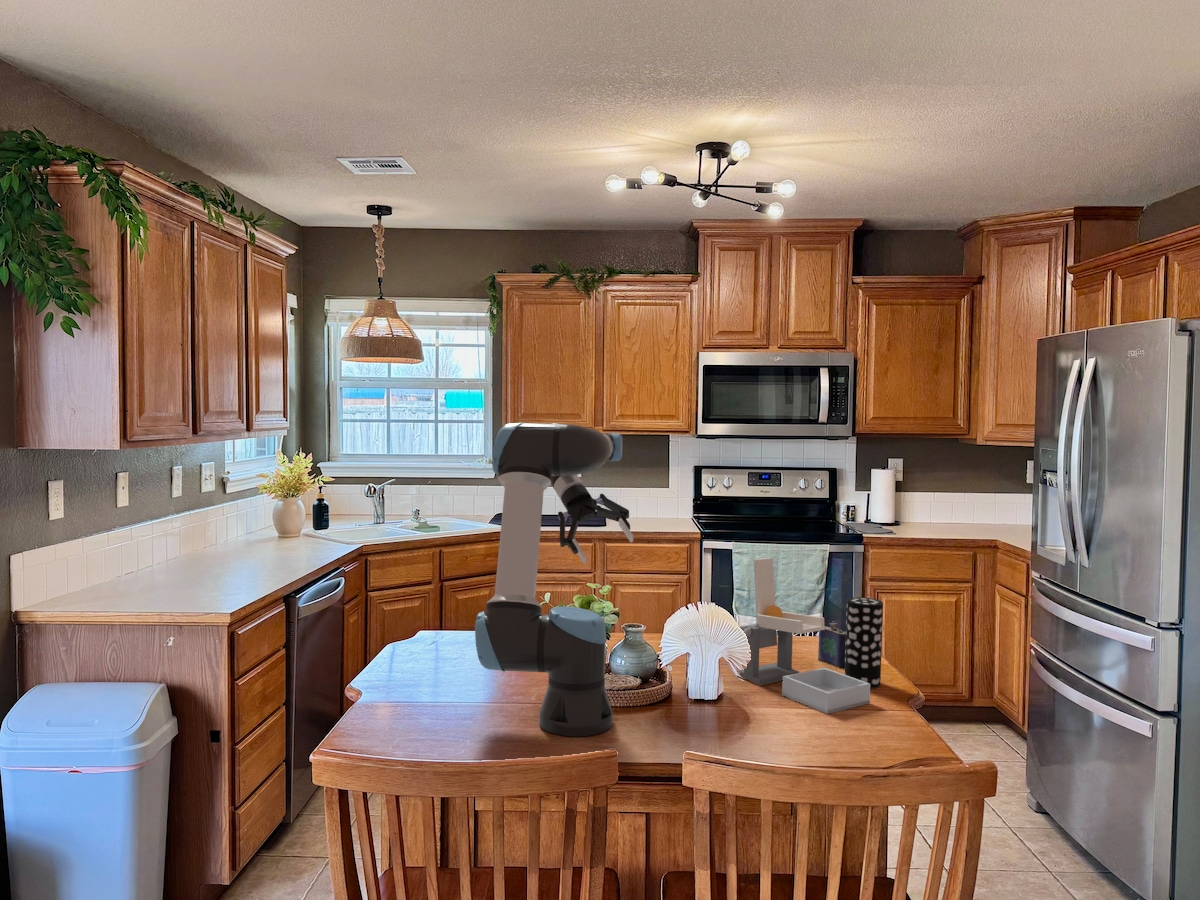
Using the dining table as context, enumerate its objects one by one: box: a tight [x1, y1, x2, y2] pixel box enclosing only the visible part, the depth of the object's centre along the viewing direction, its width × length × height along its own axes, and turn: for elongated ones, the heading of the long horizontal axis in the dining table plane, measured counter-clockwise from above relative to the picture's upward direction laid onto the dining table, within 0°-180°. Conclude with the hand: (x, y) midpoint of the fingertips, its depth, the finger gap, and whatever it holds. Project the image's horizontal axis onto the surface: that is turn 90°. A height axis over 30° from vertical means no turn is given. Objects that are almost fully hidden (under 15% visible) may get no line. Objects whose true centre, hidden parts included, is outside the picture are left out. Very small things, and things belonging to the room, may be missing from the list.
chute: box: [740, 557, 825, 649], centre depth 204 cm, size 21×8×22 cm, turn 32°
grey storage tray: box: [781, 667, 871, 715], centre depth 191 cm, size 14×14×4 cm
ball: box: [766, 605, 783, 618], centre depth 205 cm, size 4×4×4 cm
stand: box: [738, 624, 800, 686], centre depth 207 cm, size 8×15×13 cm, turn 122°
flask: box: [817, 622, 846, 669], centre depth 219 cm, size 9×3×11 cm, turn 28°
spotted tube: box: [844, 596, 884, 689], centre depth 203 cm, size 8×8×20 cm
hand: (608, 549), depth 217 cm, fingers open, 13 cm apart
